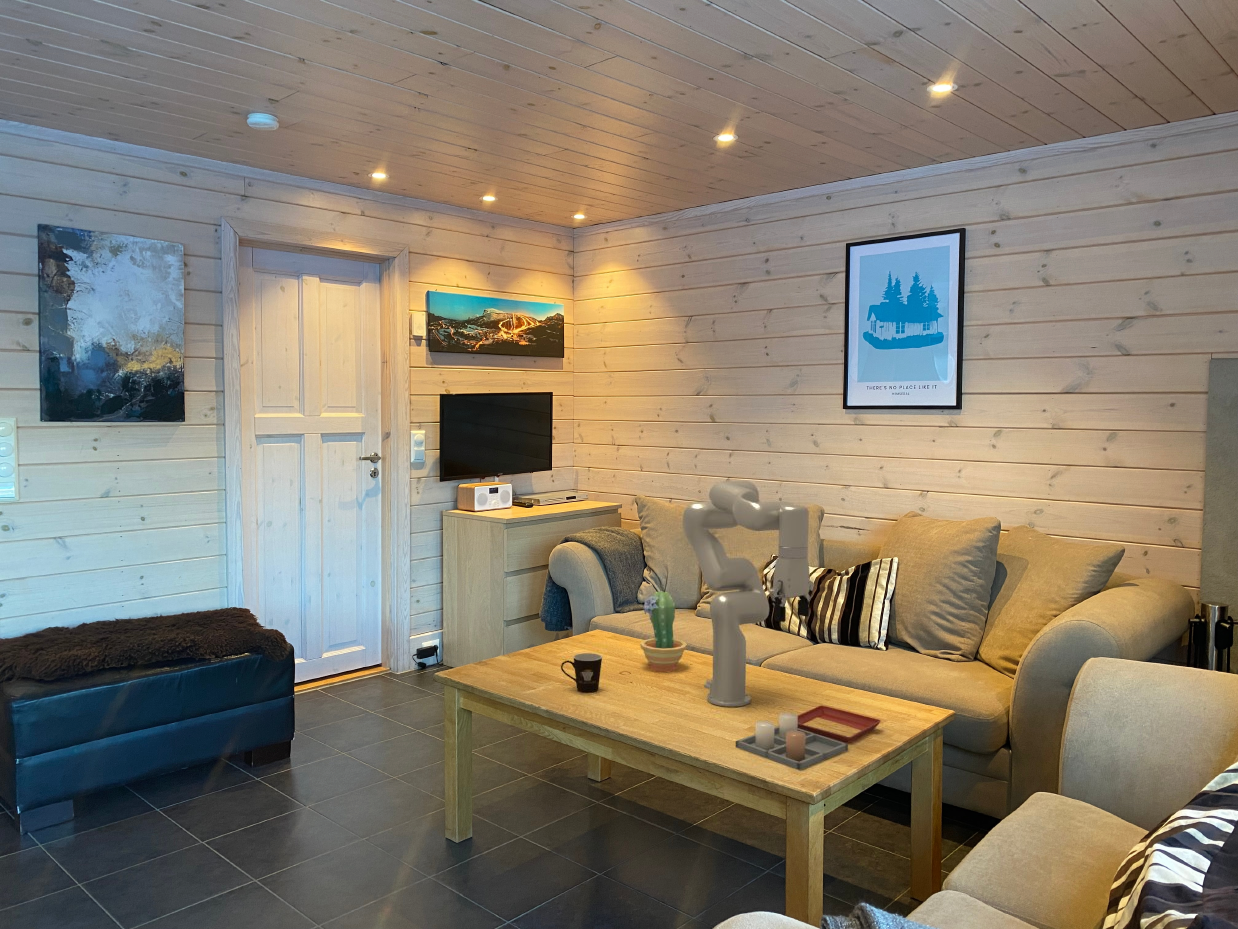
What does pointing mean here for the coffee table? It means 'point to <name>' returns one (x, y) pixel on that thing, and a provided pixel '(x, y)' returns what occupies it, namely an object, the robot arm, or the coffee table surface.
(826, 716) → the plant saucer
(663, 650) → the potted cactus
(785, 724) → the cream rounded cylinder
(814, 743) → the gray divided tray
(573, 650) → the coffee table surface
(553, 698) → the coffee table surface
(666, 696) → the coffee table surface
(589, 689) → the coffee mug
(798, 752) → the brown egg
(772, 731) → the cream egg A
